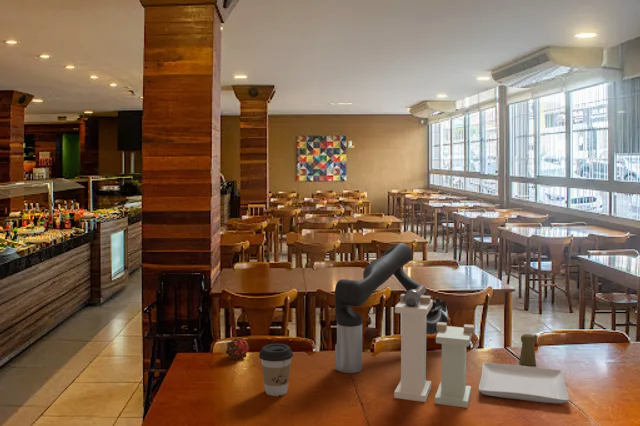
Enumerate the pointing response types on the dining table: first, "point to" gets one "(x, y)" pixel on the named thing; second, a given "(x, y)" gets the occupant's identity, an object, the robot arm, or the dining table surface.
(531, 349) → the olive pepper mill
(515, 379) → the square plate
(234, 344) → the dragon fruit
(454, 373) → the low stand
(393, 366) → the dining table surface
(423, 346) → the tall stand
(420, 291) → the grey bulb-ended bar
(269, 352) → the coffee cup
